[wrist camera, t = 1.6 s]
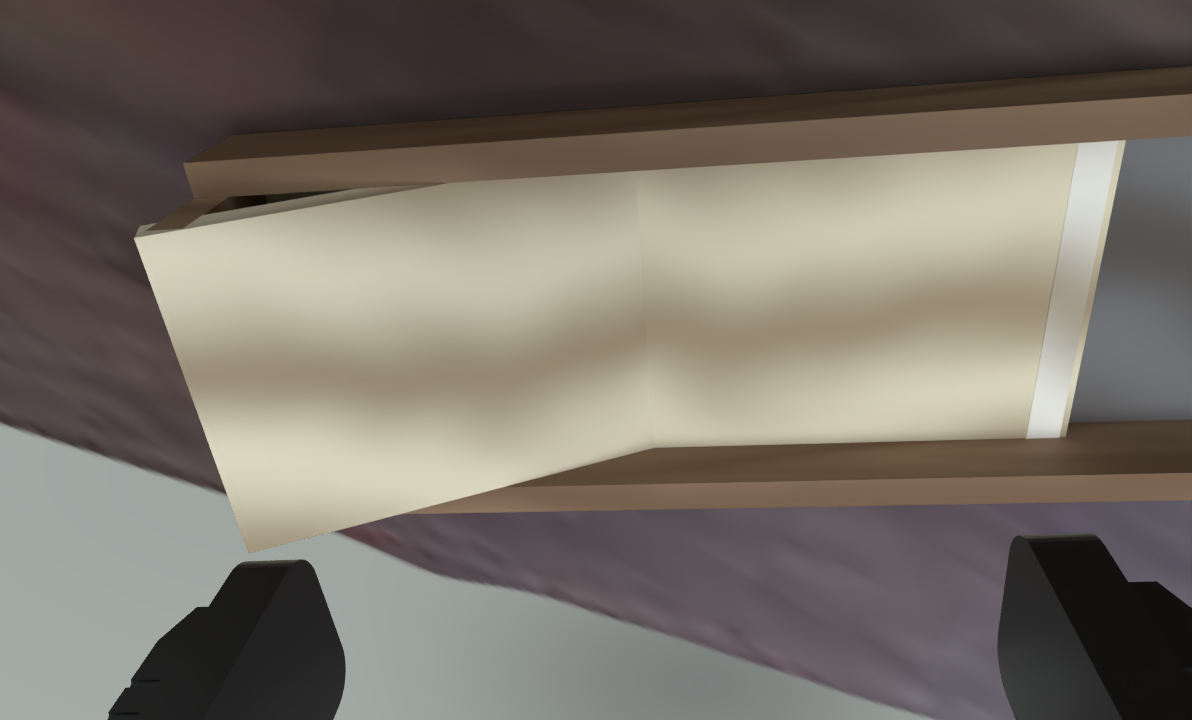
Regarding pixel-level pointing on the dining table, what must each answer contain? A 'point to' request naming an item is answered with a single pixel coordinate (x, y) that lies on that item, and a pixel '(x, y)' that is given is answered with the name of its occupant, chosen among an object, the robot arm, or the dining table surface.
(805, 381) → the track
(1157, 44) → the dining table surface
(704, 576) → the dining table surface
